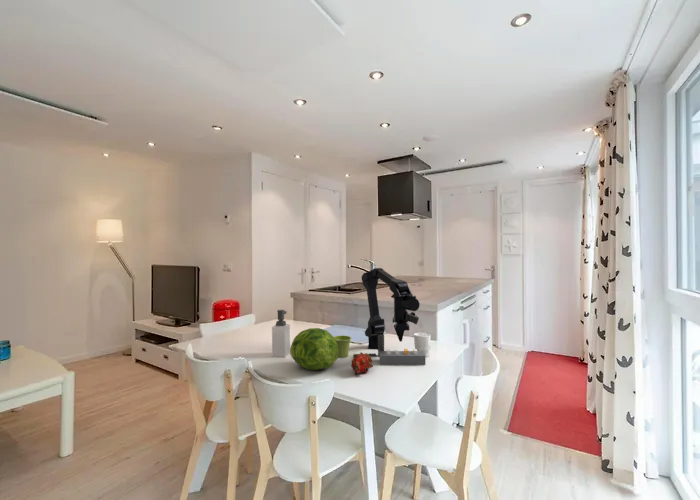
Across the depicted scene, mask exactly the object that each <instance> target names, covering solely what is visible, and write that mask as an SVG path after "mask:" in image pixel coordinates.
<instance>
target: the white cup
mask: <svg viewBox="0 0 700 500" xmlns="http://www.w3.org/2000/svg"><path fill="white" fill-rule="evenodd" d="M413 339H414V340H413V341H414V344H413V345H414V349H417V351H423V352H424V354H425V358H428V357H430V355H431V352H430V350H431V333H428V332H415V333H413Z"/></svg>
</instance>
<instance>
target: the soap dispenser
mask: <svg viewBox="0 0 700 500" xmlns="http://www.w3.org/2000/svg"><path fill="white" fill-rule="evenodd" d="M276 312H277V321H276V323H275V324H274V325H273V326H271V342H272V343H271V344H272V345H271V347H272V349H271V350H272V351H271V353H272V355H271V357H272V358H274V357H275V358H286V357H287V356H288V355H290V354H289V353H290V347H291V334H290V333H291V332H290V331H291V330H290V329H291V325H290V324H288V323H287V322H286V320H285V315H286V314H287V310H285V309H277V310H276Z"/></svg>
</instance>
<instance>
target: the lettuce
mask: <svg viewBox="0 0 700 500" xmlns="http://www.w3.org/2000/svg"><path fill="white" fill-rule="evenodd" d="M334 337H335V336H333V335H332V334H331V333H330V331H328V330H326V329H323V328H319V327H312V328H311V327H310V328H308V329H307V328H306V329H304V330H302V331H300V332H299V333H298V334H296V336H294V338H293V340H292V343H291V344H290V354H289V355H290V357H291V359H292V360H293V361H294V362H295V363H296V364H297V365H299V367H301V368H305V369H306V370H309V371H319V370H322V369H329V368H330V367H332V366H333V365H334V364H335V362H336V361H337V359H338V358H339V357H338V345H337V342H336V340H335V339H334Z"/></svg>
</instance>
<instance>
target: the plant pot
mask: <svg viewBox="0 0 700 500" xmlns="http://www.w3.org/2000/svg"><path fill="white" fill-rule="evenodd" d="M333 337H334V339H335V340H336V342H337V345H338V357H337V358H347V357H348V356H349V351H350V343H351V340H352V337H351V336H349V335H344V334H343V335H335V336H333Z"/></svg>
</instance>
